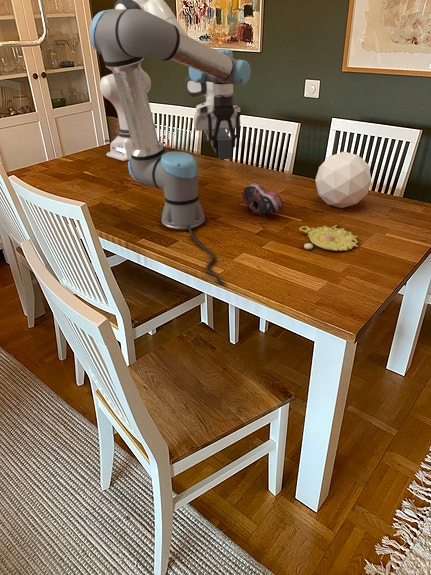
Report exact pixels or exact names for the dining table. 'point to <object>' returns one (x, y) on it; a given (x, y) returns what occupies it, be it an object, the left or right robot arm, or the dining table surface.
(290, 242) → the dining table surface
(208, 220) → the dining table surface
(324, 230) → the decorative object
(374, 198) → the dining table surface
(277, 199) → the athletic shoe
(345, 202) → the sphere
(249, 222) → the dining table surface
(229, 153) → the bar
